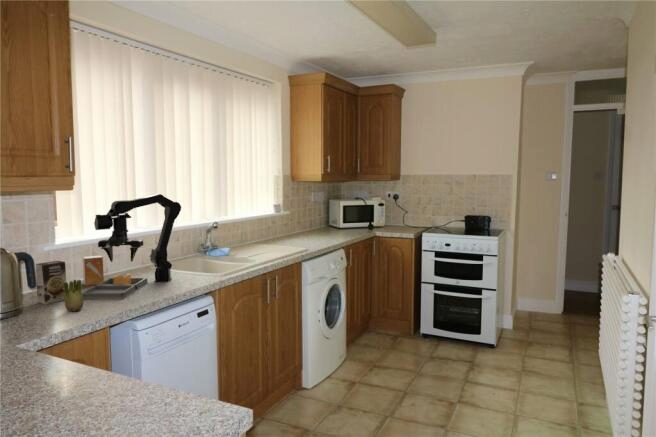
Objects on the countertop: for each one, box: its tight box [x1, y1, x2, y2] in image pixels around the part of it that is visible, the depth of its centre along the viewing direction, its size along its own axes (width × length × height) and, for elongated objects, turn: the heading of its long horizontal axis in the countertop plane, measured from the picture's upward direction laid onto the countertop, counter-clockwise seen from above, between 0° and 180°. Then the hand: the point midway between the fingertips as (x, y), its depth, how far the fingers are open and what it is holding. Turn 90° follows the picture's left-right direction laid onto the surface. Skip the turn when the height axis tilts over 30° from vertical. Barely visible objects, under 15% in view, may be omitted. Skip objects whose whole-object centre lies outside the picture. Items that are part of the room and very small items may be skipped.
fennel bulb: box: [64, 279, 84, 312], centre depth 181 cm, size 6×5×12 cm
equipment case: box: [95, 277, 149, 291], centre depth 219 cm, size 18×14×2 cm
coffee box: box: [35, 260, 67, 305], centre depth 194 cm, size 9×6×16 cm
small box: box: [82, 255, 105, 287], centre depth 224 cm, size 8×6×13 cm
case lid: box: [81, 285, 137, 300], centre depth 205 cm, size 18×15×2 cm
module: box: [113, 272, 132, 284], centre depth 219 cm, size 5×7×6 cm
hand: (121, 261), depth 218 cm, fingers open, 9 cm apart
